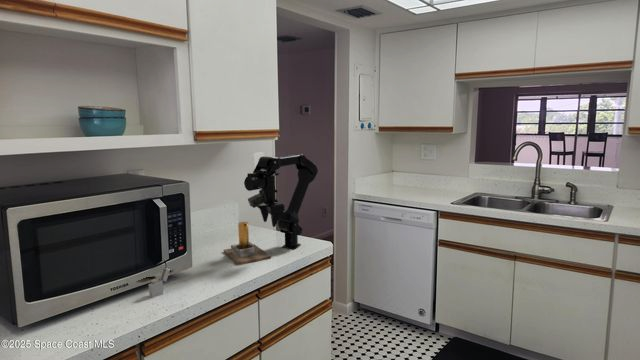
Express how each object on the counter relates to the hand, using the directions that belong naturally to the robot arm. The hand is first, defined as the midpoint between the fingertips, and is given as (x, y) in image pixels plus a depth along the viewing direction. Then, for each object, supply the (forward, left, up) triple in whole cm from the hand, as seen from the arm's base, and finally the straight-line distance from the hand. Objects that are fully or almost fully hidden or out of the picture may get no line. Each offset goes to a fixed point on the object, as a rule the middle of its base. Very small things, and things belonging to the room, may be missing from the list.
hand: (269, 224), depth 166 cm
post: (+5, -9, -12) cm, 16 cm away
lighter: (+46, -16, -13) cm, 50 cm away
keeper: (+5, -9, -13) cm, 17 cm away
